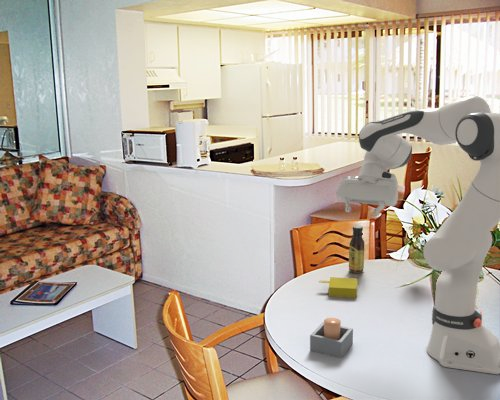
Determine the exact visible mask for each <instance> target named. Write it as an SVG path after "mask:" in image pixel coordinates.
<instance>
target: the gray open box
mask: <svg viewBox="0 0 500 400" xmlns="http://www.w3.org/2000/svg"><path fill="white" fill-rule="evenodd" d="M353 341H354V328H353V327H352V328H351V327H348V326H343V325H341V327H340V340H336V339H332V338H327V337H324V321H322V322H321V323H320V325H318V326H317V327H316V328H315V329H314V330H313V332H311V334H310V335H309V350H310V351H312V352H316V353H320V354H325V355H328V356H332V357H336V358H340V359H341V358H342V357H344V355H345V354H346V352H347V351H348V350H349V349H350V348H351V346H352V345H353V343H354V342H353Z"/></svg>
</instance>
